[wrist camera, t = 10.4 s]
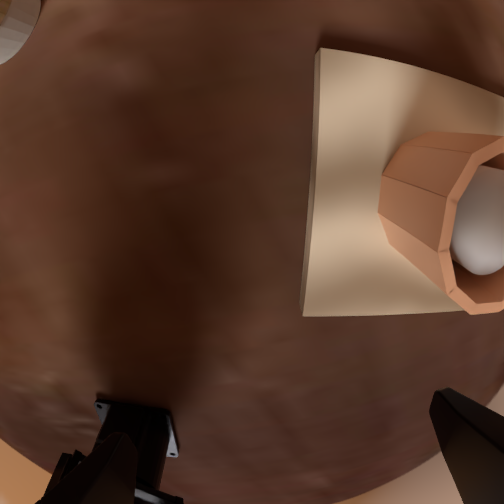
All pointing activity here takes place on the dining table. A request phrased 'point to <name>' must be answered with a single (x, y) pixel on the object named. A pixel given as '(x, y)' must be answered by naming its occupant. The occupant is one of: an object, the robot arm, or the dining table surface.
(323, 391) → the dining table surface
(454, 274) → the collar sleeve
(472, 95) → the duct mount
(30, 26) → the coffee cup
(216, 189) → the dining table surface
